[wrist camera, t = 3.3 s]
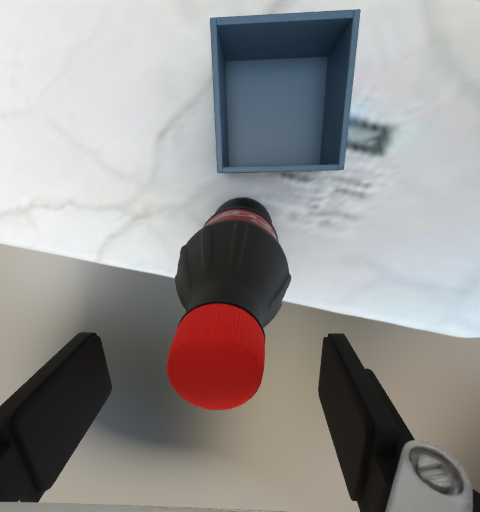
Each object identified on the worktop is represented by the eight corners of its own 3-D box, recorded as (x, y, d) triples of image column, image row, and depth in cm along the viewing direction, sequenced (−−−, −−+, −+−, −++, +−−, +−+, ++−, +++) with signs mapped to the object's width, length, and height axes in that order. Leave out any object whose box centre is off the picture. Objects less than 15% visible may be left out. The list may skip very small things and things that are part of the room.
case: (331, 52, 30) (360, 8, 22) (322, 170, 35) (343, 170, 27) (221, 58, 31) (209, 17, 23) (225, 172, 35) (217, 173, 27)
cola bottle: (245, 183, 36) (219, 223, 7) (282, 227, 38) (374, 395, 9) (203, 221, 38) (56, 366, 9) (240, 260, 40) (208, 484, 11)
